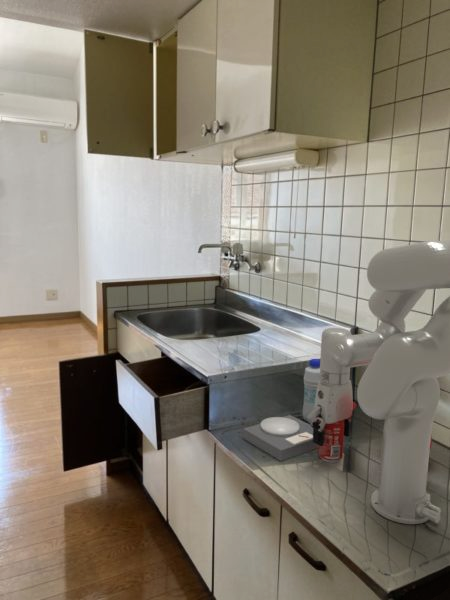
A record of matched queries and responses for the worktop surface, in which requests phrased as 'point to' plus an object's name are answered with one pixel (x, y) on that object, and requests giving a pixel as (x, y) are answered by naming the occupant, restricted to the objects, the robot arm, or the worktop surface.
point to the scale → (281, 436)
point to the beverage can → (332, 442)
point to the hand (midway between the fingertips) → (331, 439)
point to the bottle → (310, 387)
